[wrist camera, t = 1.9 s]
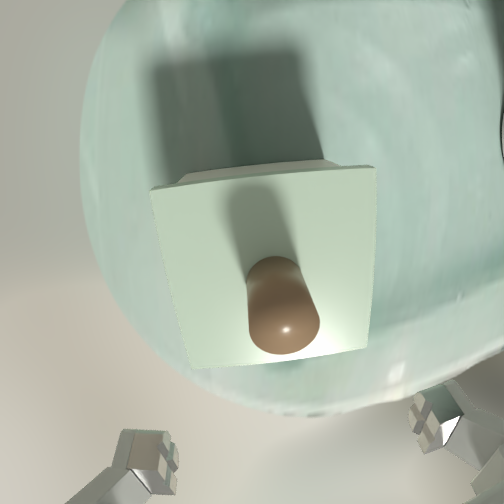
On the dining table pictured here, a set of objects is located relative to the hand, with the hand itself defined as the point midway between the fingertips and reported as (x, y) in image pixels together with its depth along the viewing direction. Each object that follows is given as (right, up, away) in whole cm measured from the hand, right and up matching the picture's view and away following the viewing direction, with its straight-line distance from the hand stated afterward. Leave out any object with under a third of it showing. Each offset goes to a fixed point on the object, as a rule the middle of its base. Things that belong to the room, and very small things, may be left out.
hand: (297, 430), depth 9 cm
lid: (0, +5, +11) cm, 12 cm away
